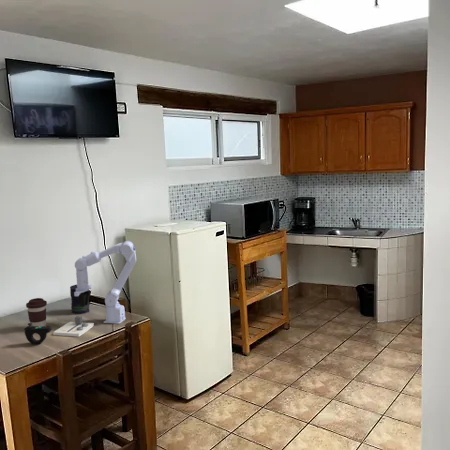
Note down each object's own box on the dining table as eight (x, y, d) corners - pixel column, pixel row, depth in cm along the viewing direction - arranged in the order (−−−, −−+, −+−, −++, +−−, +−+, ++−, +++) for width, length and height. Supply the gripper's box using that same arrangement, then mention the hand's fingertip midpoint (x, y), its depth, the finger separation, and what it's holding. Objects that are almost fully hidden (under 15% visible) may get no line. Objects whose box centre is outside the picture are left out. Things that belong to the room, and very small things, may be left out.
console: (93, 325, 240) (93, 321, 240) (79, 336, 226) (78, 332, 225) (69, 324, 243) (69, 320, 243) (53, 335, 228) (53, 330, 228)
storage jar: (70, 310, 266) (68, 285, 264) (88, 307, 270) (86, 283, 268) (72, 315, 257) (70, 289, 255) (90, 312, 261) (89, 287, 259)
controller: (27, 341, 221) (26, 321, 219) (53, 341, 221) (52, 321, 219) (24, 345, 216) (22, 325, 215) (50, 344, 216) (48, 324, 215)
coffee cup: (42, 322, 247) (40, 295, 244) (52, 326, 240) (50, 299, 238) (24, 328, 239) (22, 300, 237) (34, 332, 233) (31, 303, 231)
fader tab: (82, 323, 240) (82, 316, 239) (80, 324, 238) (80, 317, 237) (77, 322, 240) (76, 316, 240) (75, 324, 238) (74, 317, 238)
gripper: (82, 277, 250) (84, 301, 252) (68, 284, 236) (70, 309, 238) (94, 277, 249) (96, 301, 250) (80, 284, 235) (82, 310, 236)
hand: (84, 305), depth 244 cm, fingers closed
